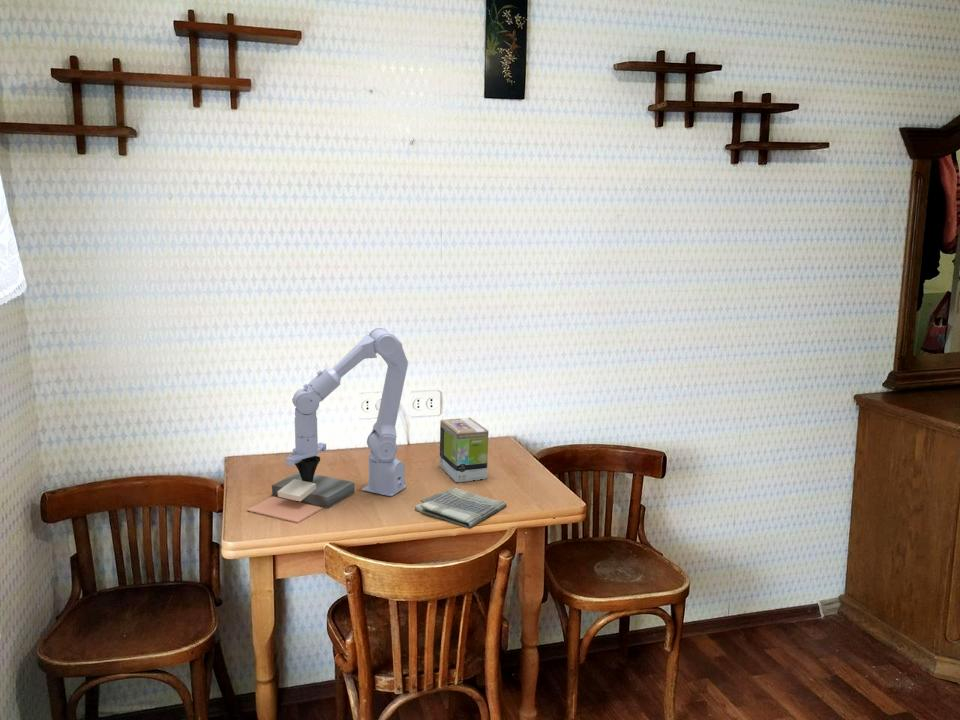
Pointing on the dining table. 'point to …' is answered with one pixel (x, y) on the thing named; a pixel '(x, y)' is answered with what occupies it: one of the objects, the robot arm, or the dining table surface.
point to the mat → (285, 509)
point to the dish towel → (460, 507)
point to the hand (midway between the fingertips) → (307, 483)
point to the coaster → (297, 490)
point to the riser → (320, 490)
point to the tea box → (463, 449)
